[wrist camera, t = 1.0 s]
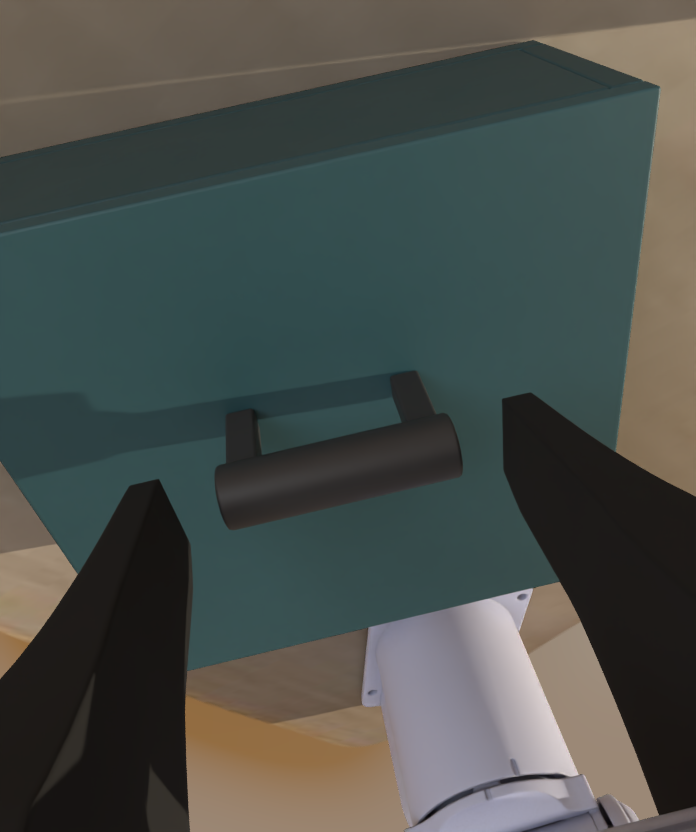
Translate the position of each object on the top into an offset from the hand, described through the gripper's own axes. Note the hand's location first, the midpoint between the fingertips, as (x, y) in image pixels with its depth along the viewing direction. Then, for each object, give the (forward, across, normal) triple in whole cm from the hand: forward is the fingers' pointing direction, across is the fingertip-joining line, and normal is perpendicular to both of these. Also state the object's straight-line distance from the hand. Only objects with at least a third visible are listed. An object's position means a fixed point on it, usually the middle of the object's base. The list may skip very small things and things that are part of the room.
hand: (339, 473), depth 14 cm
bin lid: (+3, 0, +2) cm, 4 cm away
